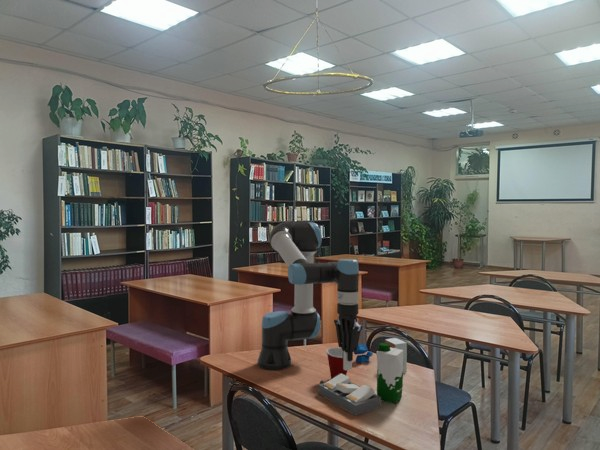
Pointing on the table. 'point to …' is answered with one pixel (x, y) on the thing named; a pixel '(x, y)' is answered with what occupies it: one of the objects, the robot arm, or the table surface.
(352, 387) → the rocker
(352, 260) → the robot arm
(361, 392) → the rocker
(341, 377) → the rocker
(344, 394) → the grey compartment tray
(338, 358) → the plastic cup
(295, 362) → the table surface
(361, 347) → the blue toy figurine
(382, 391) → the milk carton
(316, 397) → the table surface
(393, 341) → the small box
